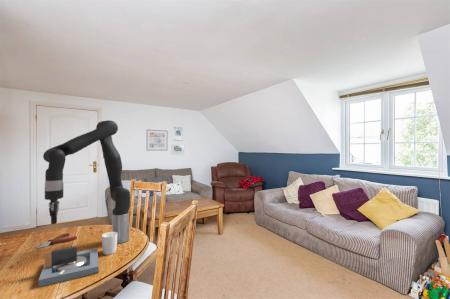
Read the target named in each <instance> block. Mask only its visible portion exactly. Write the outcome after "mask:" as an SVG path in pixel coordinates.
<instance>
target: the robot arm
mask: <svg viewBox="0 0 450 299" xmlns="http://www.w3.org/2000/svg"><path fill="white" fill-rule="evenodd" d="M95 127H96V128H95V129H93V130H91V131H89V132H86V133H83V134H80V135H78V136H76V137H73V138H72V139H69V140H67V141H65V142H64V143H62V144H58V145H55V146H53V147H51V148H49V149H46V151H45V152H44V153H43V156H42V157H43V160H44V161H45V162H47V163H48V167H47V169H46V170H45V177H44V178H45V179H44V180H45V182H44V200H46V201H50V202H49V203H48V211H49V212H48V213H49V217H50V224H51V225H57V223H58V215H59V214H58V213H59V210H60V208H59V207H60V201H59V200H60V199H62V198H64V178H63V177H64V173H63V171H64V167H65V164H66V157H68V156H70V155H74V154H76V153H78V152H79V151H81V150H83V149H85V148H87V147H88V146H90V145H92V144H94V143H95V142H98V141H99V143H100V146H101V151H102V154H103V156H102V157H103V160H104V162H103V163H104V166H105V170H106V174H107V178H108V184H109V194H110V198H111V199H112V201H114V202H115V203H114V208H113V209H112V212H111V213H112V215H111V216H112V218H111V219H112V222H111V223H112V227H111V228H112V230H111V232H117V233H118V235H117V244H123V243H126V242H129V241H130V225H129V220H130V219H129V217H130V216H129V211H130V208H131V192H130V190H129V189H128V188H125V187H124V186H123V183H122V173H123V172H122V171H123V162H122V158H121V155H120V152H119V151H118V150H117V148H116V146H115V145H114V142H113V137H112V136H114V135H115V134H117V133H118V130H119V126H118V124H117V123H116V122H115V121H114V120H111V119H110V120H108V119H107V120H102V121H100V122H97V124H96V126H95Z"/></svg>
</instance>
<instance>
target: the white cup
mask: <svg viewBox="0 0 450 299" xmlns="http://www.w3.org/2000/svg"><path fill="white" fill-rule="evenodd" d="M117 235H118V233H117V232H112V231H108V232H104V233H103V234H102V235H101V244H102V246H101V247H102V254H103V255H106V256H108V255H113V254H115V253H116V252H117V247H118V243H117Z"/></svg>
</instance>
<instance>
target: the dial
mask: <svg viewBox="0 0 450 299" xmlns="http://www.w3.org/2000/svg"><path fill="white" fill-rule="evenodd" d="M77 252H78V246H77V245H74V246H69V247H64V248H59V249H53V250H52V249H51V250H47V251H46V250H45V252H44V264H45V268H48V267H52V266H57V272H61V271H62V270H70V269H75V268H79V267H84V266H86V257H83V256H77Z"/></svg>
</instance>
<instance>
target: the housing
mask: <svg viewBox="0 0 450 299" xmlns="http://www.w3.org/2000/svg"><path fill="white" fill-rule="evenodd" d="M98 253H99V252H98V248H93V249H87V250H81V251H77V256H83V257H86V266H84V267H79V268H75V269H70V270H62V271H61V272H57V266H52V267H48V268H45V263H44V265H43V267H42V270H41V273H40V275H39V278H38V283H37V284H38V285H37V286H38V288H42V287H46V286H50V285H54V284H55V285H56V284H59V283H62V282H67V281H70V280H74V279H79V278H80V279H81V278H82V277H83V278H84V277H87V276H88V277H89V276H92V275H95V274H99V272H100V270H99V268H100V267H99V254H98Z"/></svg>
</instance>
